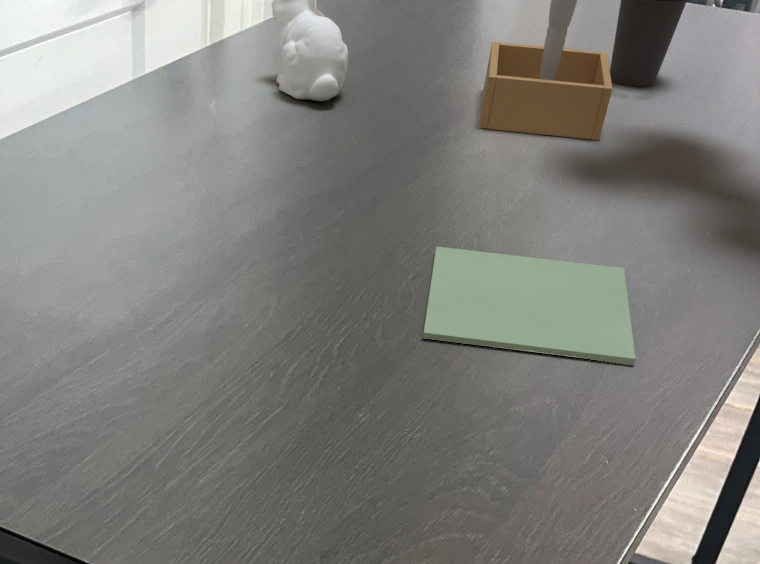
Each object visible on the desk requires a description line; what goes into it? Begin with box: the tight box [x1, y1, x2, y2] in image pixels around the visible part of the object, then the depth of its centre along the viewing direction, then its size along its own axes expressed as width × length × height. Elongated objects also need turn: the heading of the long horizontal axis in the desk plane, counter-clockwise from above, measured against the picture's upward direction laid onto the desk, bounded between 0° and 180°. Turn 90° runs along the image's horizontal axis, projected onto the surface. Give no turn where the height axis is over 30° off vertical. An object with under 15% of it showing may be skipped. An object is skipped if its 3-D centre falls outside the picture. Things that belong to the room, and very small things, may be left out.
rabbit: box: [271, 0, 349, 102], centre depth 120 cm, size 12×9×12 cm
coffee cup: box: [609, 0, 690, 88], centre depth 127 cm, size 8×8×10 cm
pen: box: [539, 0, 578, 81], centre depth 116 cm, size 2×3×14 cm
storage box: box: [479, 41, 613, 141], centre depth 119 cm, size 13×13×5 cm
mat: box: [422, 246, 636, 367], centre depth 89 cm, size 16×16×1 cm
